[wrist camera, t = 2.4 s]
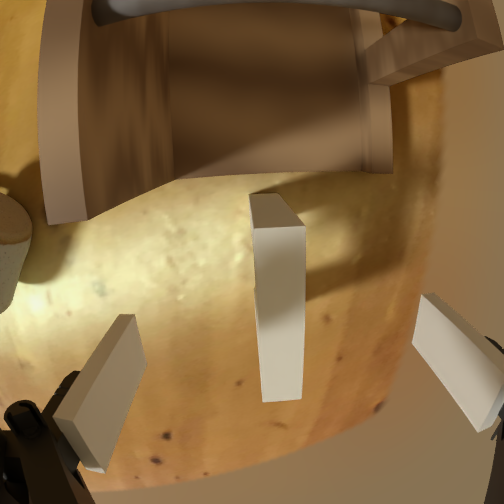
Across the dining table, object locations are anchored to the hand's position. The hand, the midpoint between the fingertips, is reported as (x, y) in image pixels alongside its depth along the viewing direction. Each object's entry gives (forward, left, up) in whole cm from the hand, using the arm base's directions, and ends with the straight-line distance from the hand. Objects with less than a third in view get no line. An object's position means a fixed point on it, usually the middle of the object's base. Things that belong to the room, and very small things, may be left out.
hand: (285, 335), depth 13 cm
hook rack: (-13, 0, -10) cm, 17 cm away
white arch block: (0, 0, -10) cm, 10 cm away
